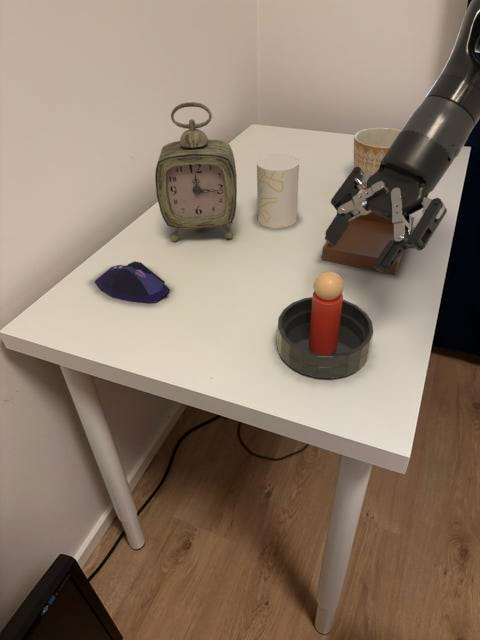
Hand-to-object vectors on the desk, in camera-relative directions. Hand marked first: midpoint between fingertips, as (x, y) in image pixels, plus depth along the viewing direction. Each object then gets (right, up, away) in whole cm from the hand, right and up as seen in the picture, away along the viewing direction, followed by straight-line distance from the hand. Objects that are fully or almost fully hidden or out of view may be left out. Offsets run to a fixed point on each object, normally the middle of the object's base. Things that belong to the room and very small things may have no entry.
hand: (352, 255), depth 63 cm
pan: (-3, -12, +7) cm, 15 cm away
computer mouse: (-33, -3, +21) cm, 39 cm away
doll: (-3, -12, +7) cm, 14 cm away
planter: (+17, +24, +50) cm, 58 cm away
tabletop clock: (-22, +9, +35) cm, 42 cm away
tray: (+10, +6, +29) cm, 31 cm away
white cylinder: (-7, +13, +38) cm, 41 cm away
